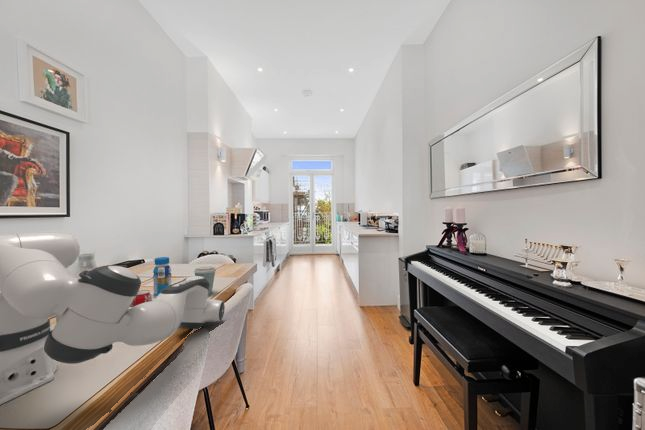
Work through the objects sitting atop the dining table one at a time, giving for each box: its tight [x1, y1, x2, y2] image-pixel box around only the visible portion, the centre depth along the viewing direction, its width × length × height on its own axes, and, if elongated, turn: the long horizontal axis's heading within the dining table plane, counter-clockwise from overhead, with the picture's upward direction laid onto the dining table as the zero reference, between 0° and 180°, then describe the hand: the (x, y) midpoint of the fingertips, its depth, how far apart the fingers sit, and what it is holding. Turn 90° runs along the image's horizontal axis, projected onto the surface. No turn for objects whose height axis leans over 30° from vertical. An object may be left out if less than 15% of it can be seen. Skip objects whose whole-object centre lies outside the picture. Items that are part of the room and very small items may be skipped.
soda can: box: [131, 289, 153, 307], centre depth 112 cm, size 7×7×12 cm
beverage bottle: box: [152, 256, 172, 298], centre depth 146 cm, size 8×8×20 cm
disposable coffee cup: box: [193, 266, 217, 297], centre depth 147 cm, size 11×11×15 cm
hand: (153, 308), depth 112 cm, fingers closed
